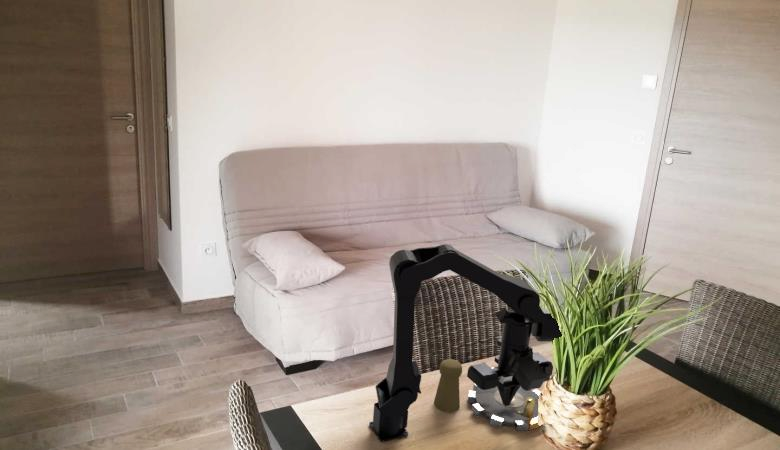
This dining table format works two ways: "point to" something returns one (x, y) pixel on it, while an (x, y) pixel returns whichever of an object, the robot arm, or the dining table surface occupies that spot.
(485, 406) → the sprocket
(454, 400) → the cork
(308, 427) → the dining table surface
